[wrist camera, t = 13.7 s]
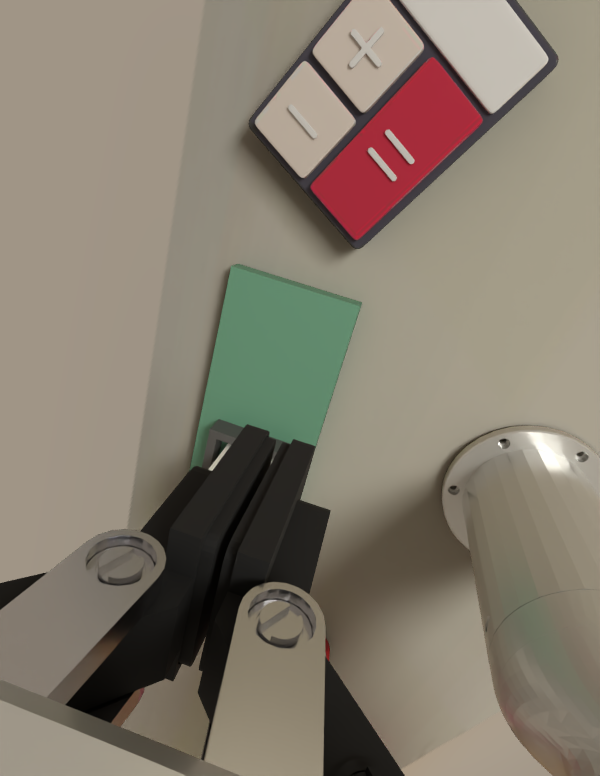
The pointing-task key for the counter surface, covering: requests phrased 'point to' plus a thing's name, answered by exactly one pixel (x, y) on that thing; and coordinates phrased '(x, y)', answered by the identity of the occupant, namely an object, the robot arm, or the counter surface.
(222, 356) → the board
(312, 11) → the counter surface
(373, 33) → the calculator
